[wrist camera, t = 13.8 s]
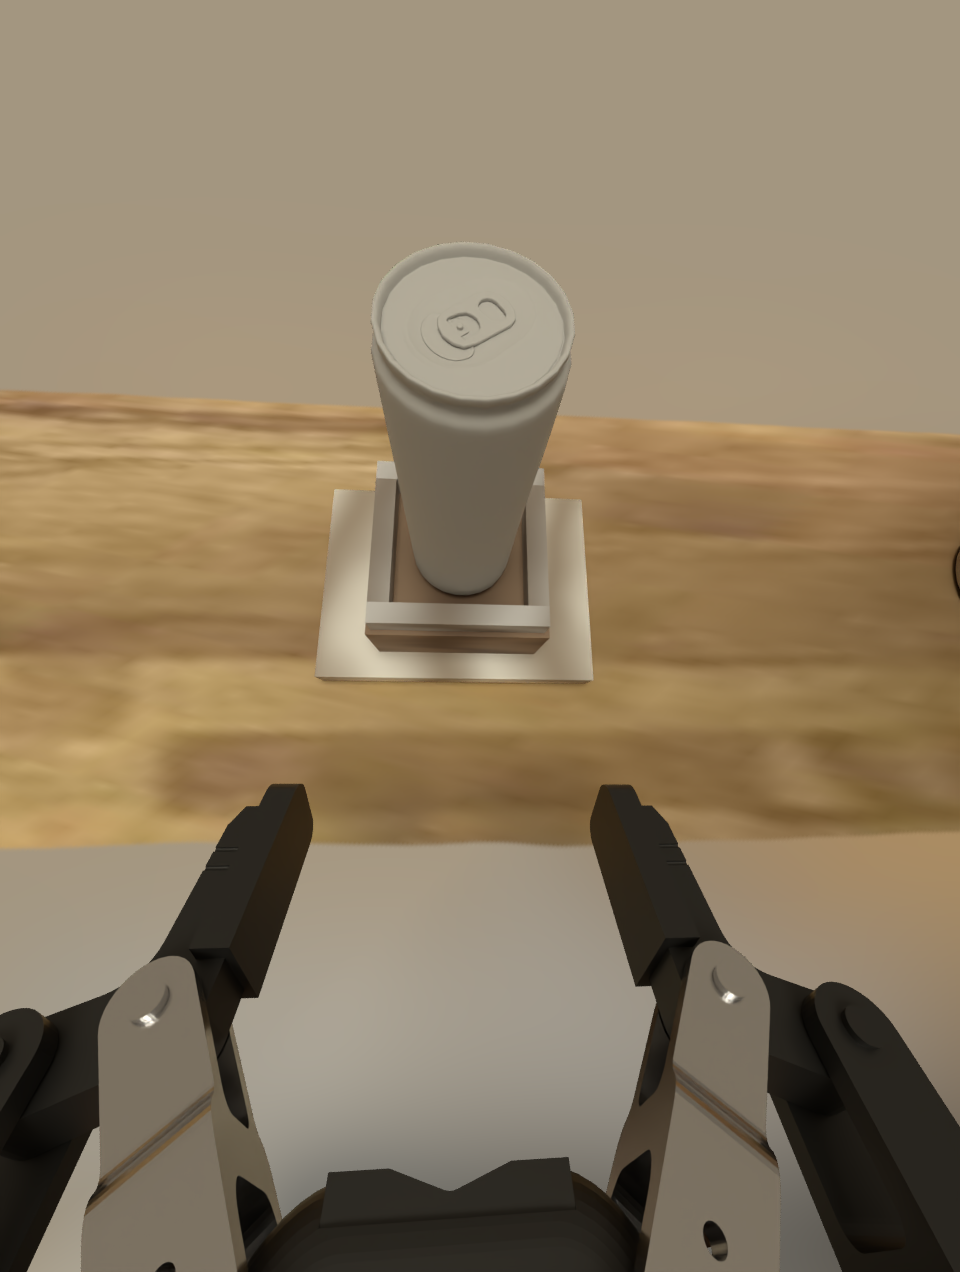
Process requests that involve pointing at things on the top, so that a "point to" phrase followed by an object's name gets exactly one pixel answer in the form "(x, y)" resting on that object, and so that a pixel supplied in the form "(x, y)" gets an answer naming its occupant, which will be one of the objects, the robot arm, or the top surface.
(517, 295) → the beverage can
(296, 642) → the top surface
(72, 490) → the top surface
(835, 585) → the top surface
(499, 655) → the pedestal base
